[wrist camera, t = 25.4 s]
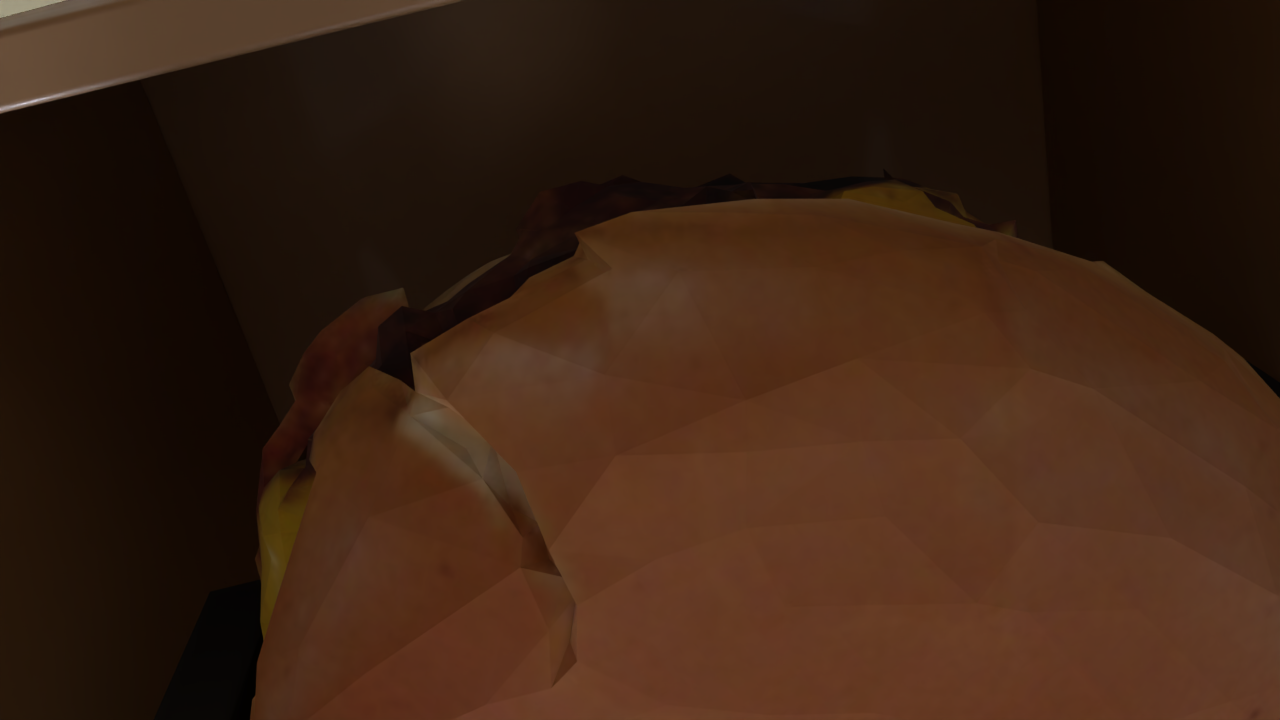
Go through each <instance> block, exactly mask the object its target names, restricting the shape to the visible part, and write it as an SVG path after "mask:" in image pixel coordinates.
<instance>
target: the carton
mask: <svg viewBox="0 0 1280 720" xmlns="http://www.w3.org/2000/svg"><path fill="white" fill-rule="evenodd" d="M883 169H885V170H886V171H887V172H888V173H889V174H890V175H891V176H892V177H893V178H904V179H906V180H909V181H911V182H914V183H916V184H919V185H922V186H924V187H927V188H929V189H933V190H939V191H944V192H950V193H956V194H958V196H959V198H960V200H961V203H962V205H963V208H964V210H965V211H966V212H968V213H969V214H971V215H972V216H974V217H975V218H977V219H978V220H980V221H982V222H983V223H985V224H990V225H991V224H996V223H1002V222H1007V221H1013V220H1016V226H1017V232H1018V238H1019V239H1022V240H1025V241H1028V242H1031V243H1034V244H1037V245H1041V246H1044V247H1047V248H1050V249H1053V250H1056V251H1060V252H1063V253H1066V254H1069V255H1072V256H1075V257H1079V258H1082V259H1085V260H1088V261H1091V262H1094V261H1104V262H1105V263H1107V264H1108V265H1109V266H1111V267H1112V268H1114V269H1115V270H1116V271H1118V272H1119V273H1121V274H1122V275H1123V276H1125V277H1126V278H1128V279H1129V280H1130V281H1132V282H1133V283H1134V284H1136V285H1137V286H1139V287H1140V288H1141V289H1143V290H1144V291H1146V292H1147V293H1148V294H1150V295H1152V296H1153V297H1155V298H1156V299H1158V300H1160V301H1161V302H1163V303H1165V304H1166V305H1168V306H1169V307H1171V308H1173V309H1174V310H1176V311H1177V312H1179V313H1181V314H1182V315H1184V316H1185V317H1187V318H1189V319H1190V320H1192V321H1193V322H1195V323H1197V324H1198V325H1200V326H1201V327H1203V328H1205V329H1206V330H1208V331H1209V332H1211V333H1213V334H1214V335H1215V336H1216V337H1218V338H1219V339H1220V340H1221V341H1223V342H1224V343H1225V344H1226V345H1228V346H1229V347H1230V348H1231V349H1233V350H1234V351H1235V352H1236V353H1238V354H1239V355H1240V356H1241V357H1243V358H1244V359H1246V360H1247V361H1248V362H1250V363H1251V364H1253V365H1254V366H1256V367H1257V368H1259V369H1260V370H1262V371H1263V372H1265V373H1266V374H1268V375H1269V376H1271V377H1272V378H1274V379H1275V380H1277V381H1278V382H1280V0H66V1H62V2H59V3H55V4H51V5H47V6H44V7H40V8H36V9H32V10H29V11H25V12H21V13H17V14H14V15H10V16H6V17H3V18H0V720H154V718H155V715H156V713H157V711H158V708H159V706H160V704H161V702H162V699H163V697H164V695H165V693H166V690H167V688H168V686H169V684H170V681H171V679H172V677H173V674H174V672H175V670H176V668H177V665H178V663H179V661H180V659H181V656H182V654H183V652H184V650H185V647H186V645H187V643H188V640H189V638H190V636H191V634H192V631H193V629H194V627H195V625H196V622H197V620H198V618H199V616H200V613H201V611H202V609H203V606H204V604H205V602H206V600H207V597H208V595H209V593H210V591H215V590H219V589H223V588H227V587H231V586H235V585H239V584H243V583H247V582H252V581H256V580H260V576H259V572H258V568H257V565H256V561H255V557H256V554H257V551H258V548H259V546H260V545H259V535H258V525H257V515H256V507H257V497H258V488H259V479H260V469H261V460H262V450H263V447H264V446H265V445H266V443H267V442H268V441H269V439H270V438H271V436H272V435H273V434H274V432H275V431H276V430H277V428H278V427H279V426H280V424H281V423H282V421H283V419H284V418H285V416H286V415H287V413H288V412H289V410H290V408H291V407H292V405H293V404H294V402H295V399H294V396H293V393H292V391H291V388H290V386H289V384H290V381H291V379H292V377H293V375H294V373H295V371H296V369H297V366H298V364H299V362H300V360H301V358H302V356H303V354H304V352H305V351H306V350H307V349H308V347H309V346H310V345H311V343H312V342H313V341H314V339H315V338H316V337H317V335H318V334H319V333H320V331H321V330H322V329H324V328H325V327H326V326H328V325H329V324H330V323H331V322H333V321H334V320H335V319H336V318H338V317H339V316H340V315H342V314H343V313H344V312H345V311H347V310H348V309H349V308H350V307H352V306H353V305H354V304H356V303H357V302H358V301H359V300H361V299H362V298H364V297H368V296H372V295H376V294H380V293H384V292H388V291H392V290H396V289H400V288H404V292H405V295H406V298H407V302H408V305H409V308H414V309H419V310H423V309H424V308H425V307H427V306H428V305H429V304H430V303H432V302H433V301H434V300H435V299H436V298H438V297H439V296H440V295H441V294H443V293H444V292H445V291H446V290H448V289H449V288H451V287H452V286H454V285H455V284H456V283H458V282H459V281H461V280H462V279H463V278H465V277H466V276H468V275H469V274H470V273H472V272H474V271H475V270H477V269H479V268H480V267H482V266H484V265H486V264H487V263H489V262H491V261H493V260H496V259H498V258H501V257H504V256H506V255H509V254H511V253H512V251H513V249H514V248H515V246H516V244H517V242H518V240H519V239H518V235H517V231H516V228H517V226H518V225H519V223H520V222H521V220H522V219H523V217H524V215H525V214H526V212H527V211H528V209H529V208H530V206H531V205H532V203H533V201H534V200H535V198H536V197H537V195H538V194H539V192H541V191H545V190H548V189H552V188H556V187H560V186H564V185H568V184H571V183H575V182H579V181H585V182H589V183H594V184H599V185H600V184H602V183H605V182H607V181H610V180H612V179H614V178H617V177H619V176H622V175H624V176H627V177H629V178H632V179H635V180H638V181H640V182H647V183H654V184H661V185H669V186H676V187H684V188H688V187H697V186H700V185H702V184H705V183H707V182H710V181H712V180H715V179H717V178H720V177H722V176H725V175H727V174H732V175H734V176H735V177H737V178H739V179H740V180H742V181H744V182H761V183H805V182H814V181H822V180H829V179H836V178H844V177H851V176H857V177H884V171H883Z"/></svg>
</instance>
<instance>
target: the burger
mask: <svg viewBox="0 0 1280 720" xmlns="http://www.w3.org/2000/svg"><path fill="white" fill-rule="evenodd" d="M883 171H884V177H857V176H851V177H844V178H836V179H829V180H822V181H814V182H805V183H761V182H744V181H742V180H740V179H739V178H737V177H735V176H734V175H732V174H727V175H725V176H722V177H720V178H717V179H715V180H712V181H710V182H707V183H705V184H702V185H700V186H697V187H688V188H684V187H676V186H669V185H661V184H654V183H647V182H640V181H638V180H635V179H632V178H629V177H627V176H624V175H622V176H619V177H617V178H614V179H612V180H610V181H607V182H605V183H602V184H600V185H599V184H594V183H589V182H585V181H579V182H575V183H571V184H568V185H564V186H560V187H556V188H552V189H548V190H545V191H541V192H539V194H538V195H537V197H536V198H535V200H534V201H533V203H532V205H531V206H530V208H529V209H528V211H527V212H526V214H525V215H524V217H523V219H522V220H521V222H520V223H519V225H518V226H517V228H516V231H517V235H518V239H519V240H518V242H517V244H516V246H515V248H514V249H513V251H512V253H511V254H509V255H506V256H504V257H501V258H498V259H496V260H493V261H491V262H489V263H487V264H486V265H484V266H482V267H480V268H479V269H477V270H475V271H474V272H472V273H470V274H469V275H468V276H466V277H465V278H463V279H462V280H461V281H459V282H458V283H456V284H455V285H454V286H452V287H451V288H449V289H448V290H446V291H445V292H444V293H443V294H441V295H440V296H439V297H438V298H436V299H435V300H434V301H433V302H432V303H430V304H429V305H428V306H427V307H425V308H424V309H423V310H419V309H414V308H409V305H408V302H407V298H406V295H405V292H404V288H400V289H396V290H392V291H388V292H384V293H380V294H376V295H372V296H368V297H364V298H362V299H361V300H359V301H358V302H357V303H356V304H354V305H353V306H352V307H350V308H349V309H348V310H347V311H345V312H344V313H343V314H342V315H340V316H339V317H338V318H336V319H335V320H334V321H333V322H331V323H330V324H329V325H328V326H326V327H325V328H324V329H322V330H321V331H320V333H319V334H318V335H317V337H316V338H315V339H314V341H313V342H312V343H311V345H310V346H309V347H308V349H307V350H306V351H305V352H304V354H303V356H302V358H301V360H300V362H299V364H298V366H297V369H296V371H295V373H294V375H293V377H292V379H291V381H290V384H289V386H290V388H291V391H292V393H293V396H294V399H295V402H294V404H293V405H292V407H291V408H290V410H289V412H288V413H287V415H286V416H285V418H284V419H283V421H282V423H281V424H280V426H279V427H278V428H277V430H276V431H275V432H274V434H273V435H272V436H271V438H270V439H269V441H268V442H267V443H266V445H265V446H264V447H263V450H262V460H261V469H260V479H259V488H258V497H257V507H256V515H257V525H258V535H259V545H260V546H259V548H258V551H257V554H256V557H255V561H256V565H257V568H258V572H259V576H260V579H261V614H260V623H261V629H262V634H263V640H264V641H263V645H262V648H261V651H260V654H259V658H258V661H257V672H256V695H255V696H254V698H253V699H252V706H251V715H250V720H1280V398H1279V397H1278V396H1277V395H1276V394H1275V393H1274V392H1273V390H1272V389H1271V388H1270V387H1269V386H1268V385H1267V384H1266V383H1265V382H1264V380H1263V379H1262V378H1261V377H1260V376H1259V375H1258V374H1257V373H1256V372H1255V370H1254V369H1253V368H1252V367H1251V366H1250V365H1249V364H1248V363H1247V362H1246V360H1245V359H1244V358H1243V357H1241V356H1240V355H1239V354H1238V353H1236V352H1235V351H1234V350H1233V349H1231V348H1230V347H1229V346H1228V345H1226V344H1225V343H1224V342H1223V341H1221V340H1220V339H1219V338H1218V337H1216V336H1215V335H1214V334H1213V333H1211V332H1209V331H1208V330H1206V329H1205V328H1203V327H1201V326H1200V325H1198V324H1197V323H1195V322H1193V321H1192V320H1190V319H1189V318H1187V317H1185V316H1184V315H1182V314H1181V313H1179V312H1177V311H1176V310H1174V309H1173V308H1171V307H1169V306H1168V305H1166V304H1165V303H1163V302H1161V301H1160V300H1158V299H1156V298H1155V297H1153V296H1152V295H1150V294H1148V293H1147V292H1146V291H1144V290H1143V289H1141V288H1140V287H1139V286H1137V285H1136V284H1134V283H1133V282H1132V281H1130V280H1129V279H1128V278H1126V277H1125V276H1123V275H1122V274H1121V273H1119V272H1118V271H1116V270H1115V269H1114V268H1112V267H1111V266H1109V265H1108V264H1107V263H1105V262H1104V261H1094V262H1091V261H1088V260H1085V259H1082V258H1079V257H1075V256H1072V255H1069V254H1066V253H1063V252H1060V251H1056V250H1053V249H1050V248H1047V247H1044V246H1041V245H1037V244H1034V243H1031V242H1028V241H1025V240H1022V239H1019V238H1018V232H1017V226H1016V220H1013V221H1007V222H1002V223H996V224H991V225H990V224H985V223H983V222H982V221H980V220H978V219H977V218H975V217H974V216H972V215H971V214H969V213H968V212H966V211H965V210H964V208H963V205H962V203H961V200H960V198H959V196H958V194H956V193H950V192H944V191H939V190H933V189H929V188H927V187H924V186H922V185H919V184H916V183H914V182H911V181H909V180H906V179H904V178H893V177H892V176H891V175H890V174H889V173H888V172H887V171H886V170H885V169H883Z"/></svg>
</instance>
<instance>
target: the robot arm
mask: <svg viewBox="0 0 1280 720" xmlns="http://www.w3.org/2000/svg"><path fill="white" fill-rule="evenodd" d="M1245 360H1246V359H1245ZM1246 362H1247V363H1248V364H1249V365H1250V366H1251V367H1252V368H1253V369H1254V370H1255V372H1256V373H1257V374H1258V375H1259V376H1260V377H1261V378H1262V379H1263V380H1264V382H1265V383H1266V384H1267V385H1268V386H1269V387H1270V388H1271V389H1272V390H1273V392H1274V393H1275V394H1276V395H1277V396H1278V397H1279V398H1280V382H1278V381H1277V380H1275V379H1274V378H1272V377H1271V376H1269V375H1268V374H1266V373H1265V372H1263V371H1262V370H1260V369H1259V368H1257V367H1256V366H1254V365H1253V364H1251V363H1250V362H1248V361H1247V360H1246ZM260 614H261V579H260V580H256V581H252V582H247V583H243V584H239V585H235V586H231V587H227V588H223V589H219V590H215V591H210V593H209V595H208V597H207V600H206V602H205V604H204V606H203V609H202V611H201V613H200V616H199V618H198V620H197V622H196V625H195V627H194V629H193V631H192V634H191V636H190V638H189V640H188V643H187V645H186V647H185V650H184V652H183V654H182V656H181V659H180V661H179V663H178V665H177V668H176V670H175V672H174V674H173V677H172V679H171V681H170V684H169V686H168V688H167V690H166V693H165V695H164V697H163V699H162V702H161V704H160V706H159V708H158V711H157V713H156V715H155V718H154V720H250V715H251V706H252V699H253V698H254V696H255V695H256V672H257V661H258V658H259V654H260V651H261V648H262V645H263V641H264V640H263V634H262V629H261V623H260Z"/></svg>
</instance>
